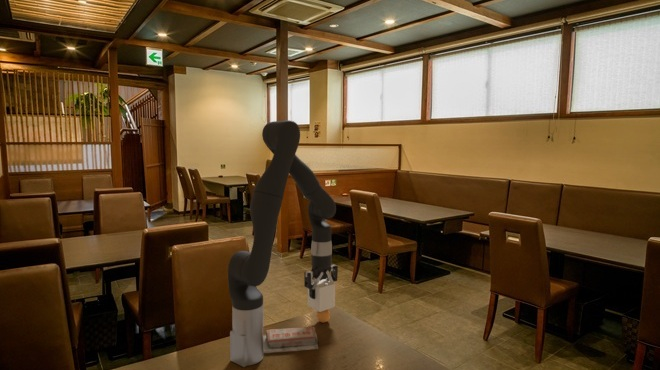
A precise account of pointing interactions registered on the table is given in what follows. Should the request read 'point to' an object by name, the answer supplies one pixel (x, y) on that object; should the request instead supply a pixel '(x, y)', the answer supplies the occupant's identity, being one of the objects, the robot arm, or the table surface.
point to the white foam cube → (323, 296)
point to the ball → (323, 316)
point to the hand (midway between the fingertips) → (321, 295)
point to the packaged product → (290, 339)
